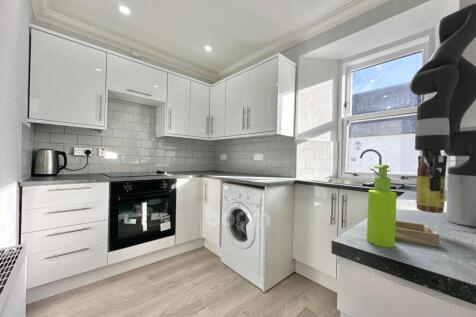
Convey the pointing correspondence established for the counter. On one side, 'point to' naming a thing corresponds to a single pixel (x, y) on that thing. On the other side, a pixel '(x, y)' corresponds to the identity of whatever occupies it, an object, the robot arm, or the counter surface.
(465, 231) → the counter surface
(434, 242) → the wooden stand
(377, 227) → the soap dispenser
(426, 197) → the sauce bottle
